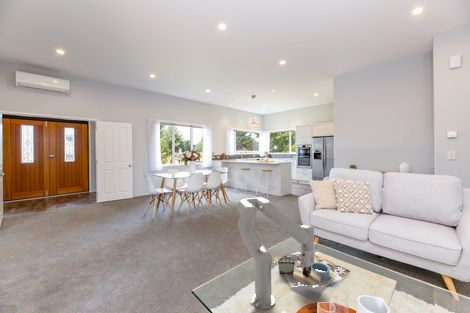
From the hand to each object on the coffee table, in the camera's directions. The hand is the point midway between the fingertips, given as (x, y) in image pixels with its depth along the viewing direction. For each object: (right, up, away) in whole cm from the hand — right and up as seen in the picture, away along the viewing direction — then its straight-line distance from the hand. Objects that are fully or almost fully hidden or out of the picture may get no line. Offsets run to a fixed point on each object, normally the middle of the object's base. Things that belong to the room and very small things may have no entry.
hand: (306, 274), depth 131 cm
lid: (0, -2, 0) cm, 2 cm away
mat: (+1, -10, +1) cm, 10 cm away
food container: (-8, -10, +18) cm, 22 cm away
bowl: (+14, -9, +14) cm, 21 cm away
